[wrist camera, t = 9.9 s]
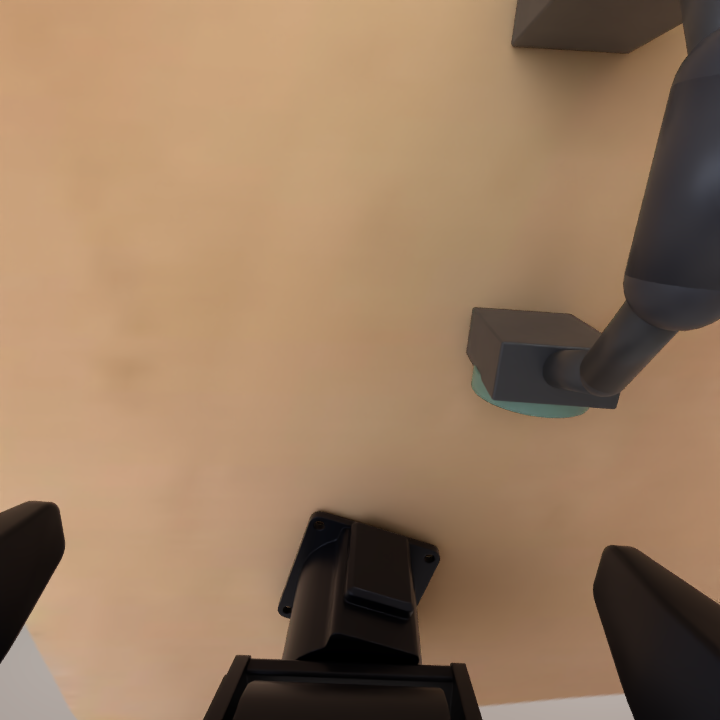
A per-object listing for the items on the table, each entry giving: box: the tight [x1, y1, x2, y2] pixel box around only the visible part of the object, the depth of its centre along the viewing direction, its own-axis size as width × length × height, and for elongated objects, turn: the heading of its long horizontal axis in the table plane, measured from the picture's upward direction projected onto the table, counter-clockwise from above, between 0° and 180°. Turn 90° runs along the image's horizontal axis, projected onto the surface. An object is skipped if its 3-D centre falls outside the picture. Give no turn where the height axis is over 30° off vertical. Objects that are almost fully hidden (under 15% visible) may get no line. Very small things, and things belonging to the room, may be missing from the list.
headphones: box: [466, 0, 720, 418], centre depth 13 cm, size 4×14×10 cm, turn 176°
